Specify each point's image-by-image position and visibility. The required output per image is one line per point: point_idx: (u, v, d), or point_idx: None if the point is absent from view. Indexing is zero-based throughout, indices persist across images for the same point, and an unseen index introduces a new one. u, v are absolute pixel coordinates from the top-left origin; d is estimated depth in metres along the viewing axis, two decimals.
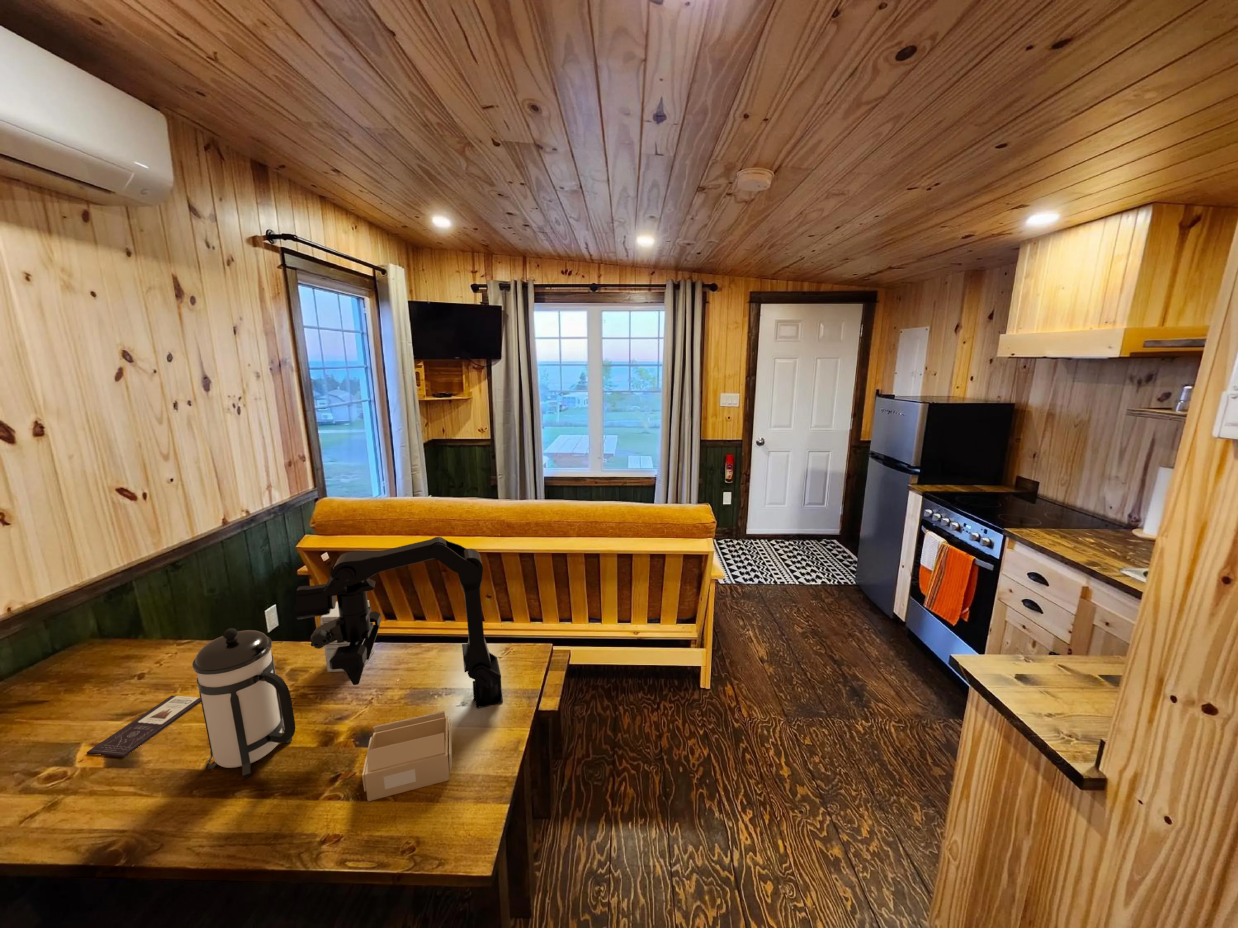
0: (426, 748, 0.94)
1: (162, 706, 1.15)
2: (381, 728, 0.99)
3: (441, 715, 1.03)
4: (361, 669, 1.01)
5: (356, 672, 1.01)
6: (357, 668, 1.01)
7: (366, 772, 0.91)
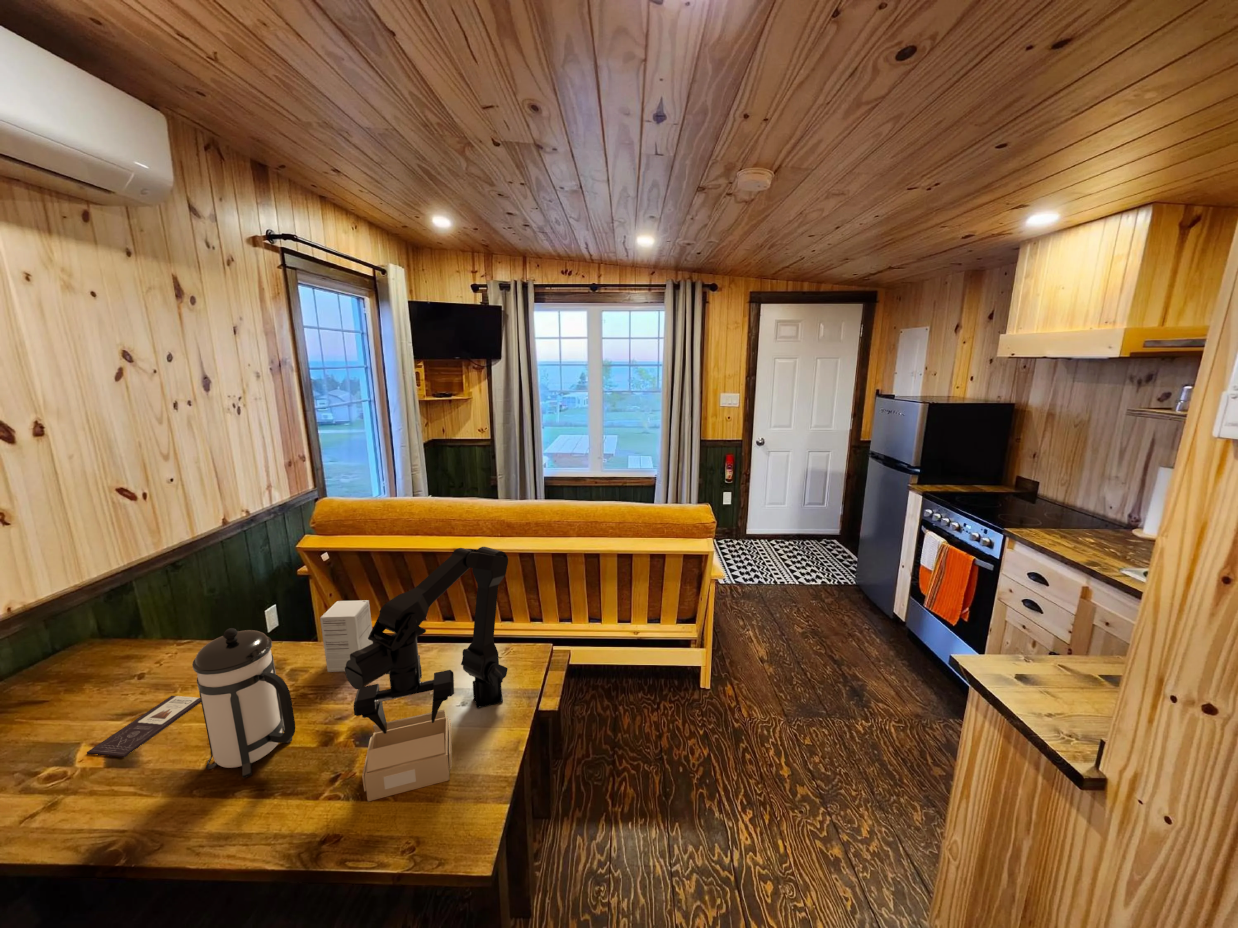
0: (426, 748, 0.94)
1: (162, 706, 1.15)
2: None
3: (441, 714, 1.03)
4: None
5: None
6: None
7: (366, 772, 0.91)
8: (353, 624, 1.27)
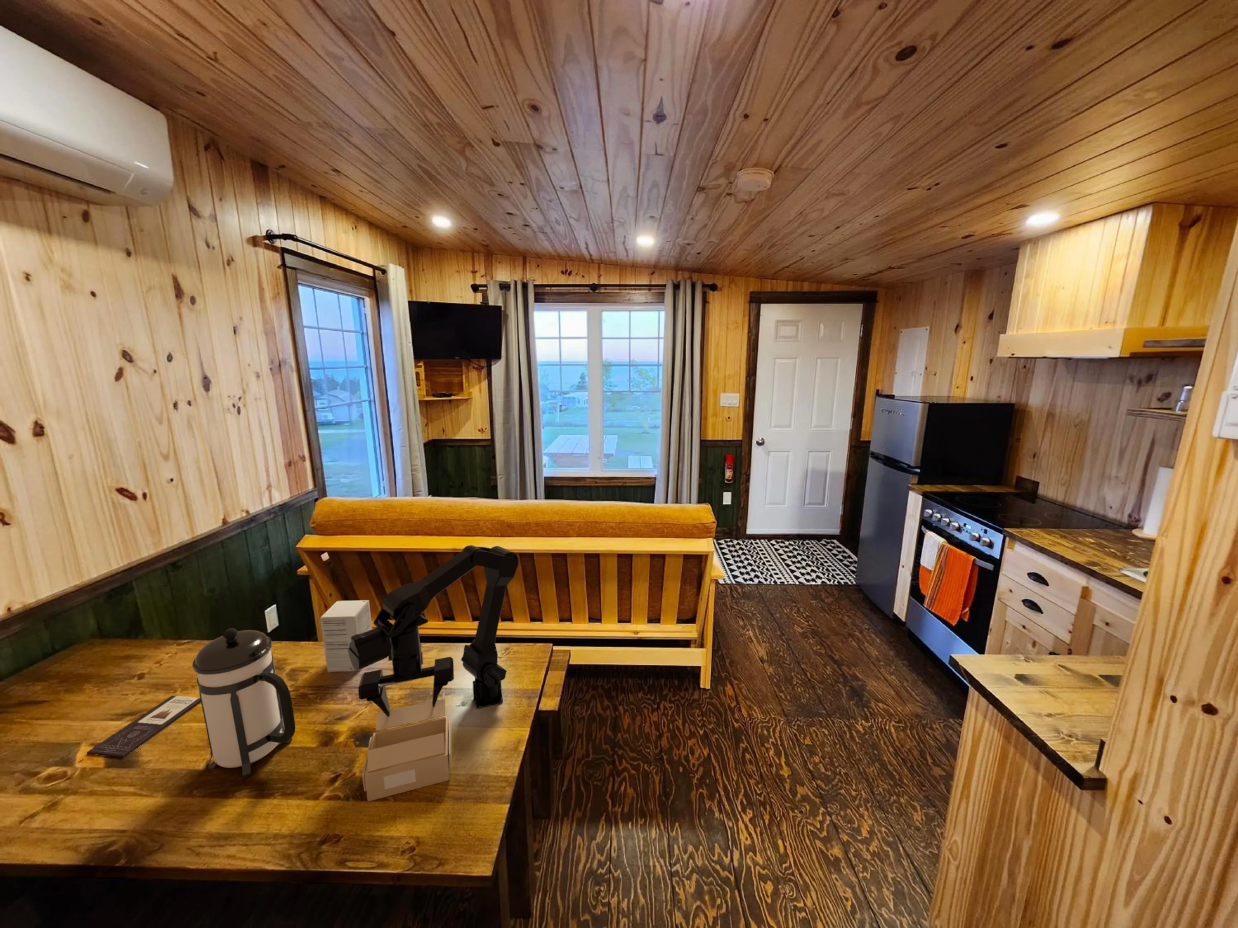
0: (426, 748, 0.94)
1: (162, 706, 1.15)
2: (383, 718, 1.02)
3: (441, 706, 1.06)
4: None
5: None
6: None
7: (366, 772, 0.91)
8: (354, 624, 1.27)
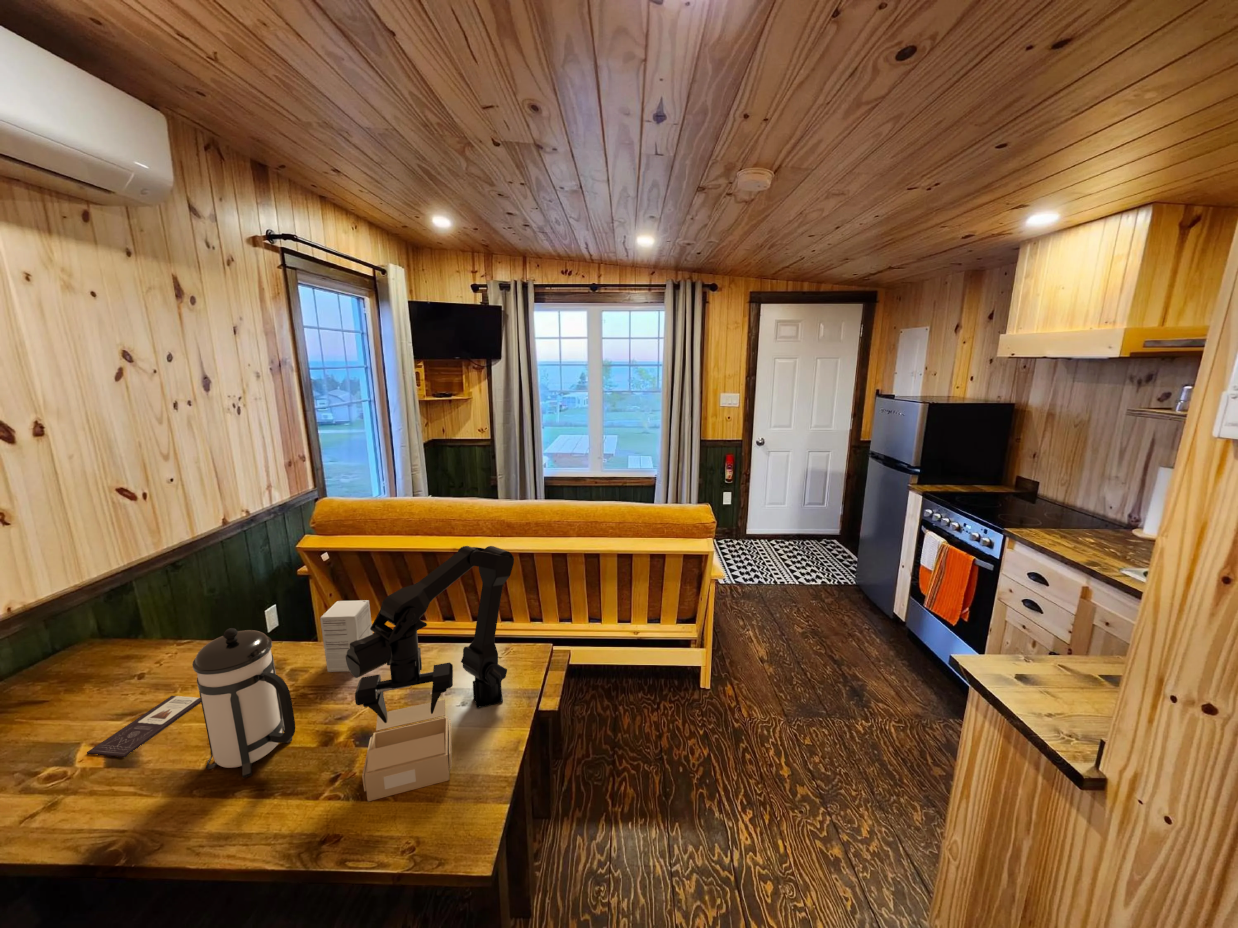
0: (426, 748, 0.94)
1: (162, 706, 1.15)
2: None
3: (441, 707, 1.06)
4: None
5: None
6: None
7: (366, 772, 0.91)
8: (354, 624, 1.27)
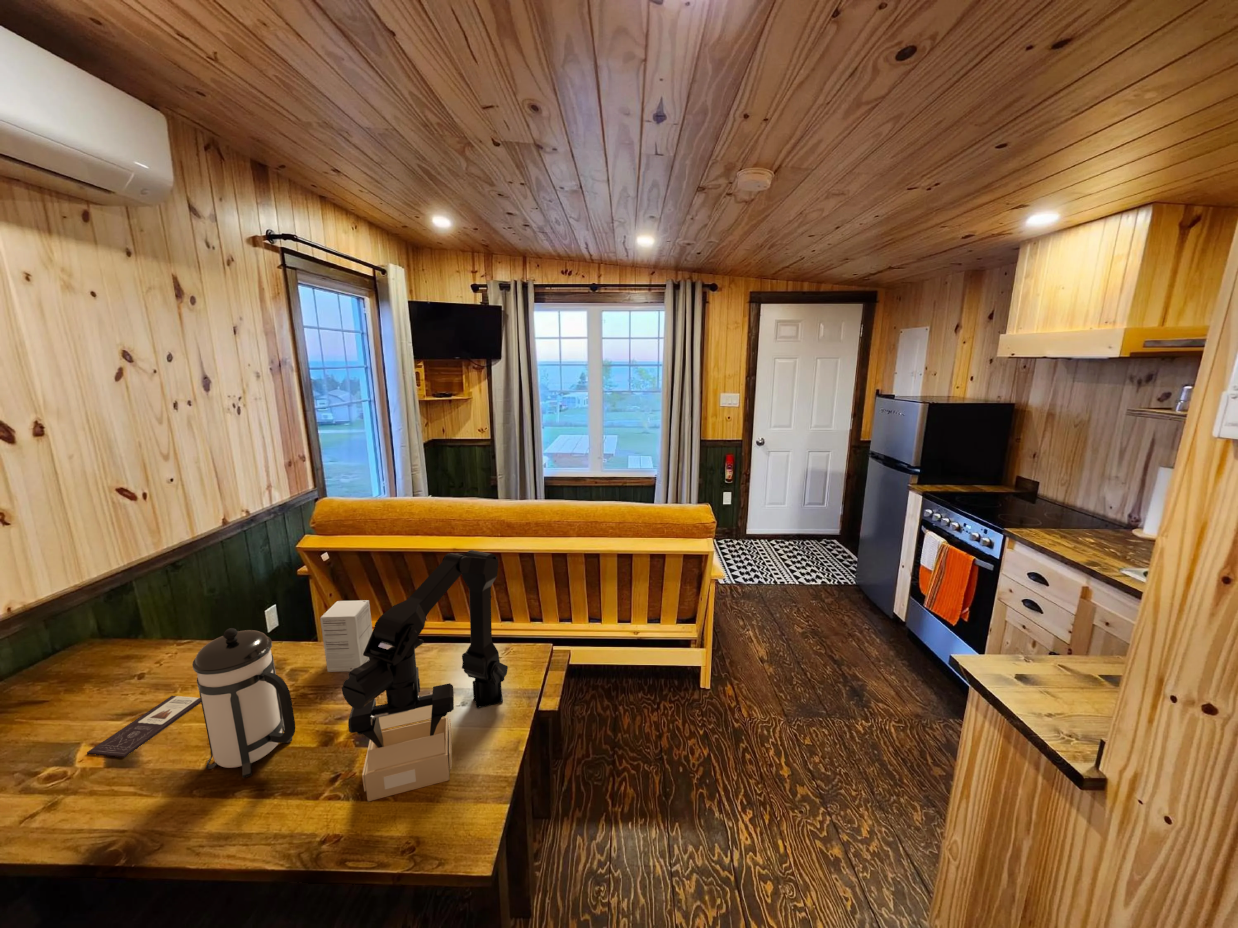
0: (426, 748, 0.94)
1: (162, 706, 1.15)
2: (384, 719, 1.03)
3: None
4: None
5: None
6: None
7: (366, 772, 0.91)
8: (354, 624, 1.27)
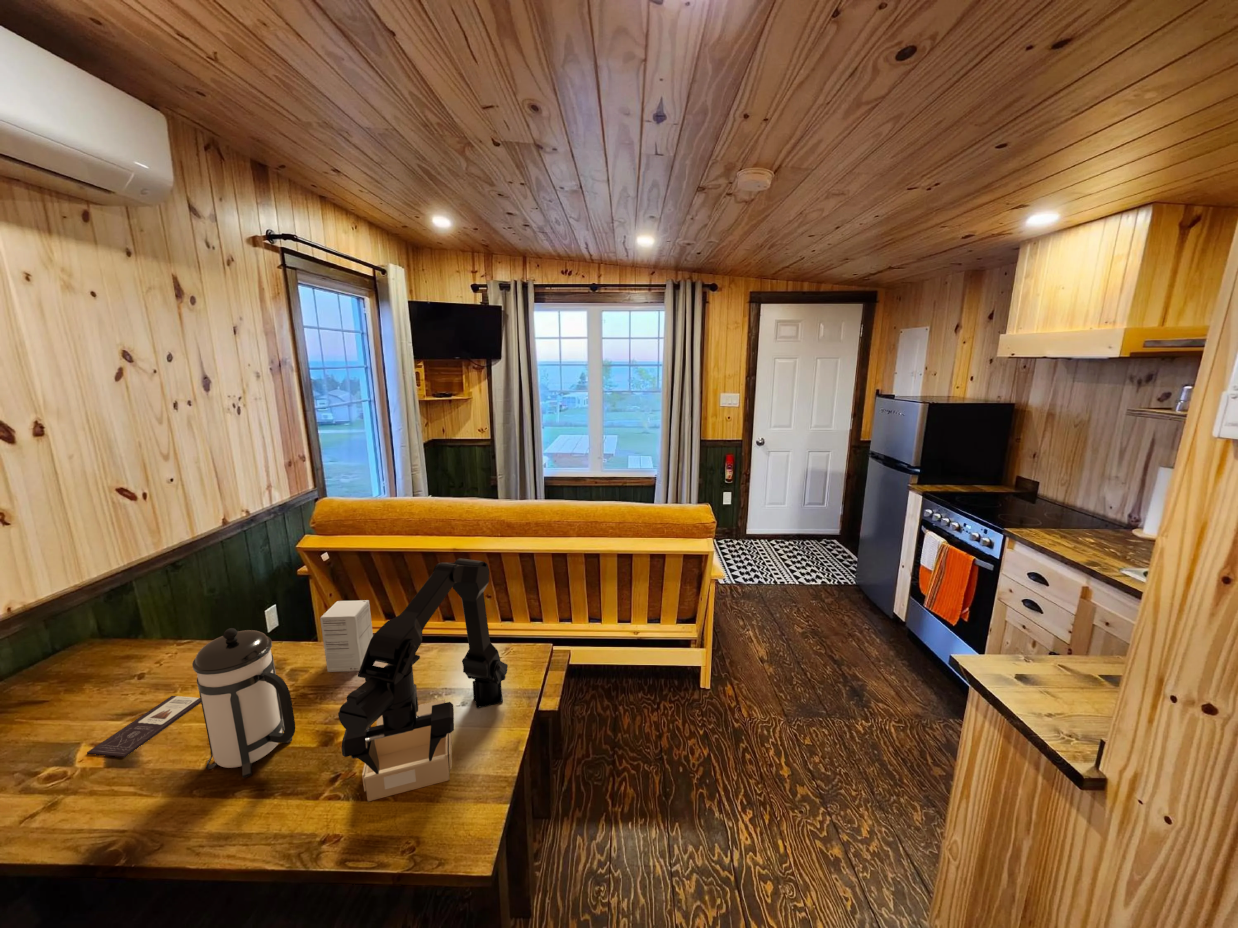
0: None
1: (162, 706, 1.15)
2: None
3: None
4: None
5: None
6: None
7: (366, 772, 0.91)
8: (354, 624, 1.27)
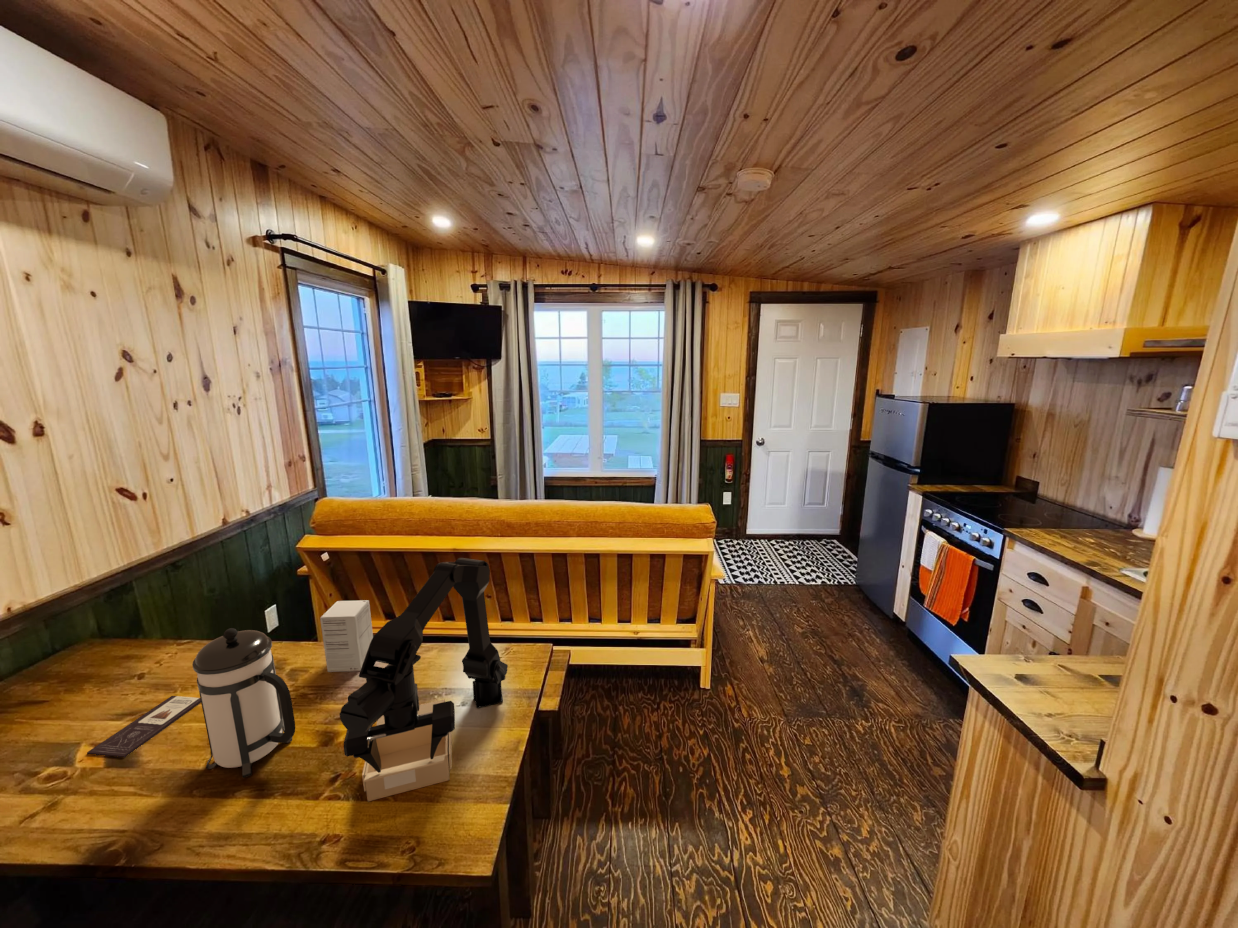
0: None
1: (162, 706, 1.15)
2: None
3: None
4: None
5: None
6: None
7: (366, 772, 0.91)
8: (354, 624, 1.27)
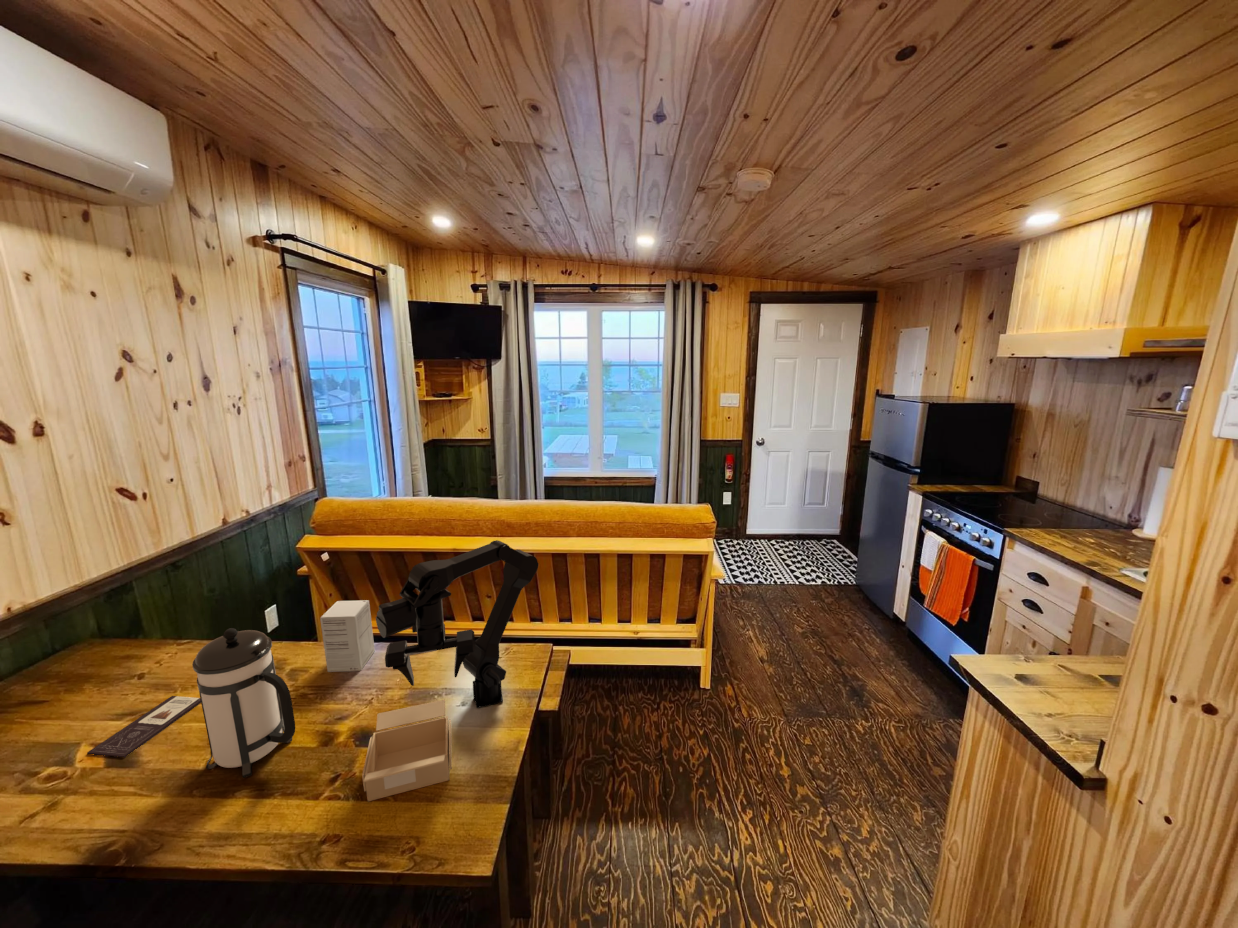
0: None
1: (162, 706, 1.15)
2: (384, 719, 1.03)
3: (441, 707, 1.06)
4: None
5: None
6: None
7: (366, 772, 0.91)
8: (354, 624, 1.27)
